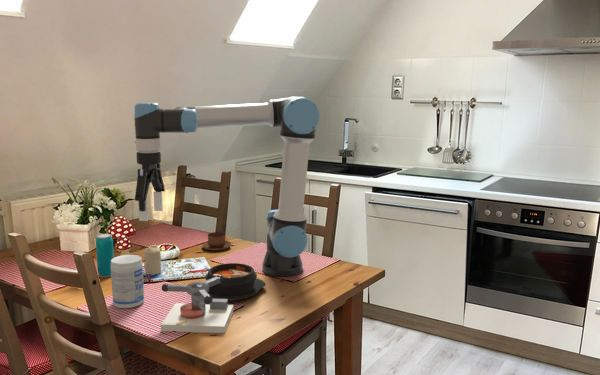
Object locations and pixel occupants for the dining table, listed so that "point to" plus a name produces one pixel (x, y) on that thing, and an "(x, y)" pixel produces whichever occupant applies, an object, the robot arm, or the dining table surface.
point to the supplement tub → (127, 281)
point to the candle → (153, 260)
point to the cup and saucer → (216, 242)
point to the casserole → (234, 281)
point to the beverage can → (104, 254)
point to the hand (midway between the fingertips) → (151, 215)
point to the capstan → (195, 296)
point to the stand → (200, 318)
